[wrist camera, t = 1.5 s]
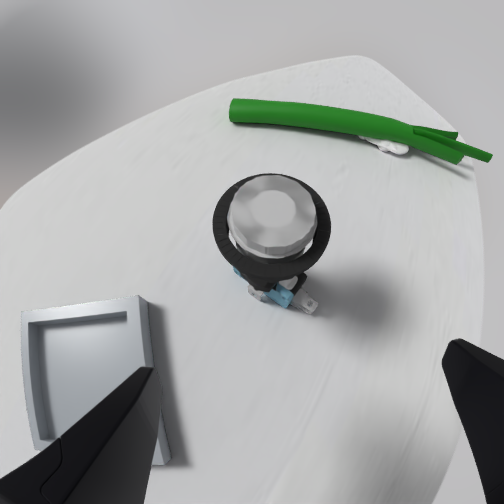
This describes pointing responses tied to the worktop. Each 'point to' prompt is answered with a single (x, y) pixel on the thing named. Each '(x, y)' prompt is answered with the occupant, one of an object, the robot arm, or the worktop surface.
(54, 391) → the tray
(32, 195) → the worktop surface
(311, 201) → the push button
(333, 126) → the green onion
